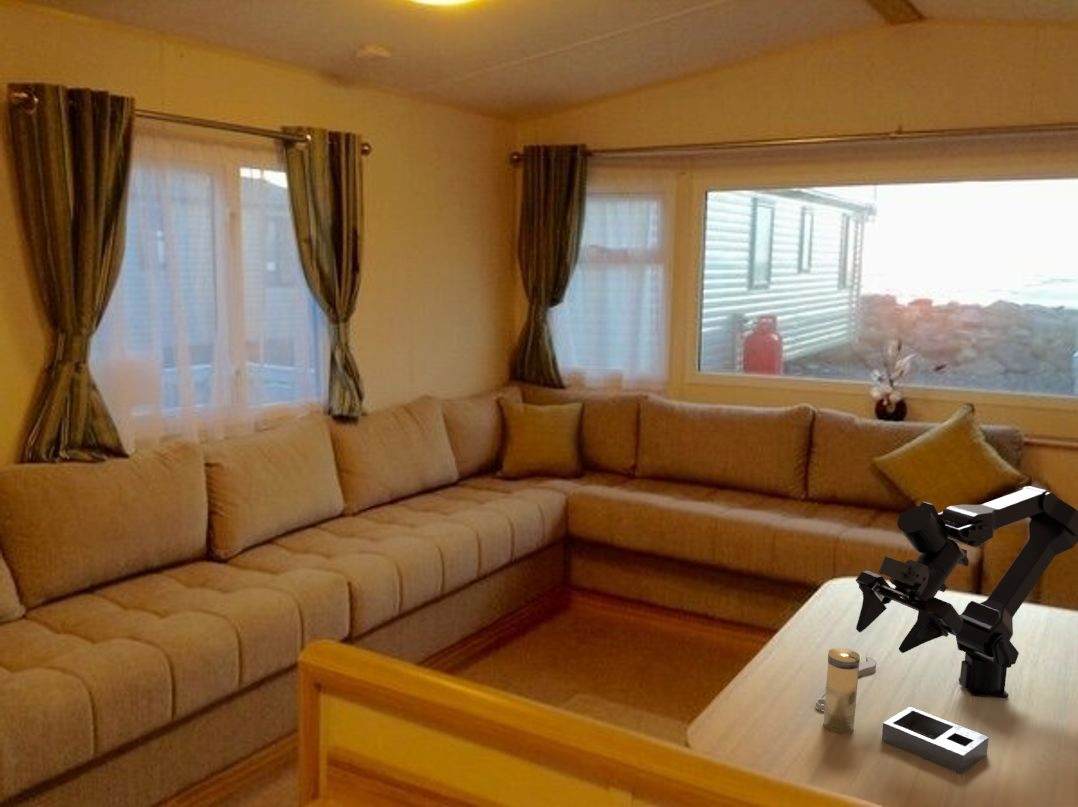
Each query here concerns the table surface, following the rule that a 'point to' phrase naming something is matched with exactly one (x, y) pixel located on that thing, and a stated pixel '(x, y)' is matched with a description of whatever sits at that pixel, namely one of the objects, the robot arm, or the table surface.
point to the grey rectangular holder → (949, 747)
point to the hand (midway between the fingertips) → (878, 640)
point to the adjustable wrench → (863, 669)
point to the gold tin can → (841, 690)
